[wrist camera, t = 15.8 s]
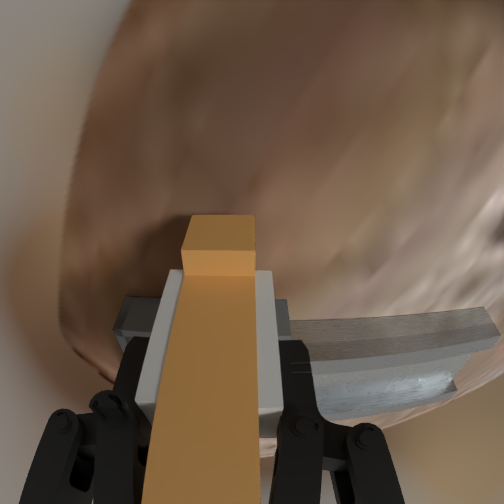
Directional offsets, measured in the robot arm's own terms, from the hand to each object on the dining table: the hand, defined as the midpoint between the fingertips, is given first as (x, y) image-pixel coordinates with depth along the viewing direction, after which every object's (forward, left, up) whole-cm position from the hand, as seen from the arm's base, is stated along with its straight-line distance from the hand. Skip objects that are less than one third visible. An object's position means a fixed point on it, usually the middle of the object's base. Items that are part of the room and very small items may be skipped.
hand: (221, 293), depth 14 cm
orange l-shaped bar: (0, 0, -3) cm, 3 cm away
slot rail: (+11, +13, -4) cm, 17 cm away
